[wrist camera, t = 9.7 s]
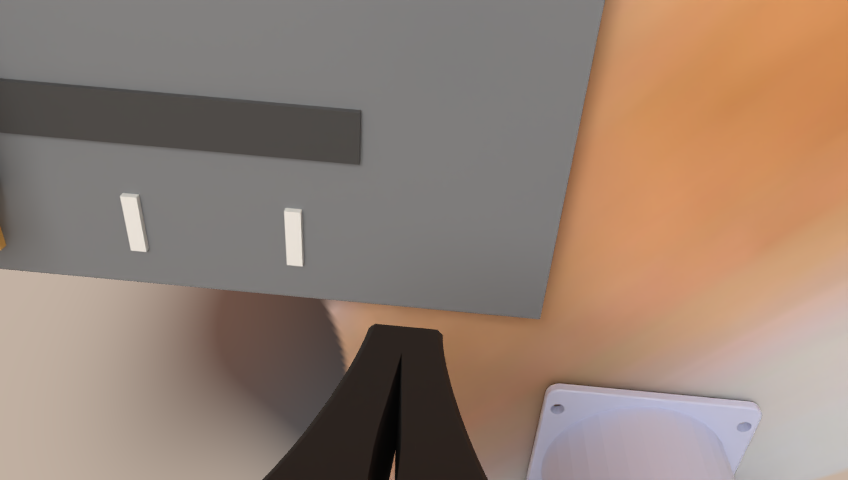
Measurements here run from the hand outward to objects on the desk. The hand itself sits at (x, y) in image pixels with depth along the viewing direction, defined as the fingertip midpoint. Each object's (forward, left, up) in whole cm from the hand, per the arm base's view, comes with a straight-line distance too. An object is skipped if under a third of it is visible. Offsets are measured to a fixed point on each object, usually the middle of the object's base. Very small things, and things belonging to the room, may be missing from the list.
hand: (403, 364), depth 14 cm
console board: (+1, +10, -9) cm, 14 cm away
